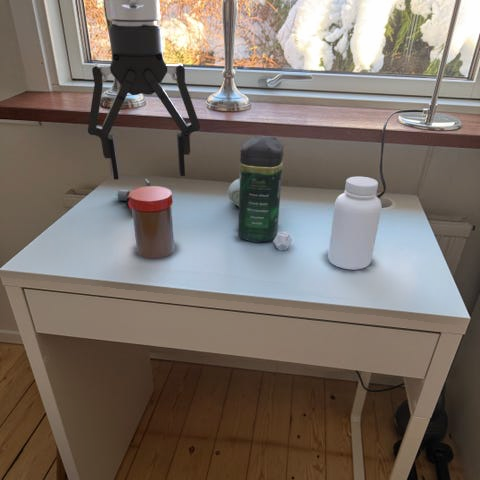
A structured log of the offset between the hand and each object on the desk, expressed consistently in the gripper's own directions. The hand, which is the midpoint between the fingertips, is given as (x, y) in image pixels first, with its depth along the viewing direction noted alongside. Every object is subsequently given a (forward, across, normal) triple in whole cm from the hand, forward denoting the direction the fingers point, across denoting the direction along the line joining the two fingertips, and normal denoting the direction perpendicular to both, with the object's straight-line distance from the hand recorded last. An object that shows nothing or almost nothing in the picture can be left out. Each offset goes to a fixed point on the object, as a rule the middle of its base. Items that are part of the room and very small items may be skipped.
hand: (149, 175), depth 80 cm
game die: (+15, +24, -3) cm, 28 cm away
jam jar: (+14, 0, 0) cm, 14 cm away
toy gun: (+14, -3, +22) cm, 27 cm away
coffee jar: (+15, +21, +4) cm, 26 cm away
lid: (+4, 0, 0) cm, 4 cm away
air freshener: (+15, +23, +19) cm, 33 cm away
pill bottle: (+15, +35, -10) cm, 39 cm away
